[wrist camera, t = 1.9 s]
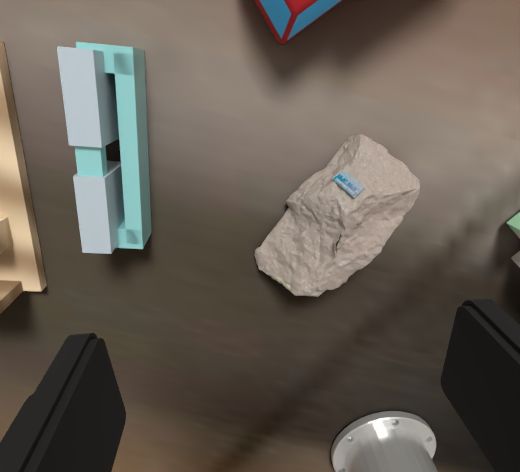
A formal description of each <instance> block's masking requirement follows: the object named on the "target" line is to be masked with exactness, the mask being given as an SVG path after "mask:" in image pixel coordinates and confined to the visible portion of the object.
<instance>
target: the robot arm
mask: <svg viewBox="0 0 520 472" xmlns="http://www.w3.org/2000/svg"><path fill="white" fill-rule="evenodd" d="M441 386H442V389H443V391H444V393H445V395H446V396H447V398H448V399H449V401H450V403H451V404H452V406H453V407H454V409H455V410H456V412H457V413H458V415H459V416H460V418H461V419H462V421H463V422H464V424H465V426H466V427H467V429H468V430H469V432H470V433H471V435H472V436H473V438H474V439H475V441H476V442H477V444H478V445H479V447H480V449H481V450H482V452H483V453H484V455H485V456H486V458H487V459H488V461H489V462H490V464H491V465H492V467H493V468H494V470H495V472H520V325H519V324H518V323H517V322H516V321H515V320H514V319H513V318H512V317H510V316H509V315H508V314H507V313H506V312H505V311H504V310H503V309H502V308H500V307H499V306H498V305H497V304H496V303H495V302H494V301H492V300H491V299H477V300H467V301H465V302H464V303H463V304H462V306H461V307H459V308H458V309H457V312H456V316H455V320H454V325H453V329H452V333H451V338H450V342H449V346H448V350H447V355H446V359H445V363H444V367H443V372H442V376H441ZM125 420H126V412H125V407H124V404H123V401H122V398H121V394H120V391H119V388H118V384H117V381H116V378H115V375H114V371H113V368H112V365H111V361H110V358H109V355H108V352H107V348H106V345H105V342H104V340H103V339H102V338H97V336H96V335H95V334H94V333H88V334H76V335H70V336H68V337H67V339H66V340H65V342H64V344H63V345H62V347H61V349H60V350H59V352H58V354H57V355H56V357H55V359H54V360H53V362H52V364H51V365H50V367H49V369H48V371H47V372H46V374H45V376H44V377H43V379H42V381H41V382H40V384H39V386H38V387H37V389H36V391H35V392H34V394H32V395H31V396H29V397H28V399H27V400H26V401H25V403H24V404H23V406H22V408H21V409H20V411H19V413H18V414H17V416H16V418H15V419H14V421H13V423H12V424H11V426H10V427H9V429H8V431H7V432H6V434H5V436H4V437H3V439H2V441H1V442H0V472H111V470H112V467H113V463H114V460H115V457H116V453H117V450H118V446H119V443H120V439H121V436H122V432H123V429H124V425H125ZM435 450H436V439H435V436H434V433H433V432H432V430H431V428H430V426H429V425H428V424H427V423H426V422H425V421H424V420H423V419H421V418H420V417H418V416H416V415H413V414H411V413H406V412H401V411H385V412H378V413H374V414H370V415H367V416H365V417H362V418H360V419H358V420H356V421H354V422H353V423H351V424H350V425H348V426H347V427H346V428H345V429H344V430H343V431H342V432H341V433H340V434H339V435H338V436H337V438H336V439H335V441H334V443H333V446H332V448H331V459H332V463H333V467H334V470H335V472H438V471H437V469H436V467H435V465H434V463H433V461H432V458H433V456H434V453H435Z"/></svg>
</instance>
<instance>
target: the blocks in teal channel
mask: <svg viewBox="0 0 520 472" xmlns="http://www.w3.org/2000/svg"><path fill="white" fill-rule="evenodd" d="M57 52H58V60H59V68H60V76H61V84H62V92H63V100H64V108H65V116H66V124H67V132H68V140H69V145H71V146H75V154H76V162H77V171H78V173H77V174H76V175H74V176H73V180H74V188H75V196H76V204H77V212H78V220H79V228H80V236H81V244H82V252H83V253H105V254H112V252H113V251H114V249H115V248H130V249H143V248H144V246H145V244H146V242H147V240H148V238H149V237H150V235H151V233H152V232H151V206H150V181H149V155H148V130H147V104H146V78H145V53H144V50H140V49H137V48H133V47H124V46H114V45H104V44H93V43H83V42H76V48H70V47H59V46H57ZM117 139H119V141H120V155H121V162H120V161H107V159H106V147H105V146H106V145H108V144H110V143H111V142H113V141H115V140H117Z"/></svg>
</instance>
